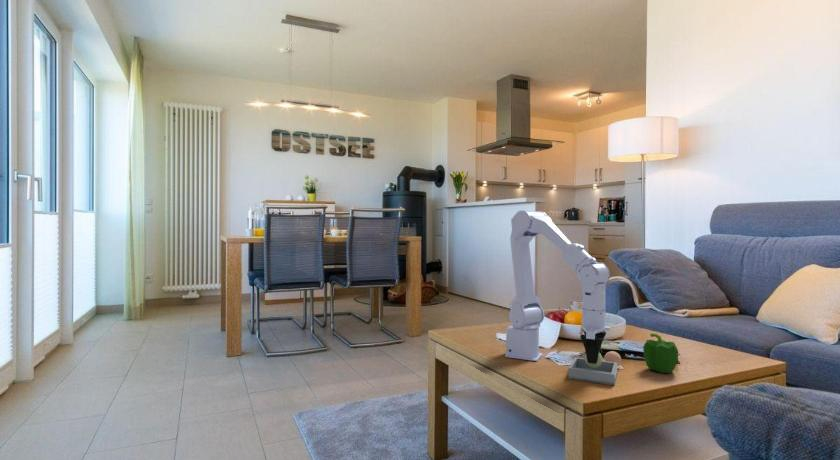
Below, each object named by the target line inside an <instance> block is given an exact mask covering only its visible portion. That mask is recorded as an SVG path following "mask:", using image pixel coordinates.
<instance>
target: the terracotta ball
mask: <svg viewBox="0 0 840 460" xmlns="http://www.w3.org/2000/svg"><path fill="white" fill-rule="evenodd" d="M603 361H608V362H616V363H617V368H618V367H620V366H621V363H622V357H621V355H620V354H619V353H618V352H617V351H614V350H613V351H612V350H611V351H608V352H606V354H604V358H603Z"/></svg>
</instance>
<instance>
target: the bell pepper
mask: <svg viewBox="0 0 840 460" xmlns="http://www.w3.org/2000/svg"><path fill="white" fill-rule="evenodd" d="M649 335H650V338H653V337H654V338H656V339H657V340H654V339H647V340H646V342H644V345H643V349H642V350H643V357H644V362H645V363H646V364H645V365H646V367H647V368H648V370H651V371H655V372H659V373H661V374H670V373H673V371H674V370H675V367H676V366H677V362H678V358H679V349H678V347H677V345H676V343H675V342H674V341H665V340H664V339H662V336H661V335H659V334H658V333H654V332H653V333H650V334H649Z"/></svg>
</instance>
